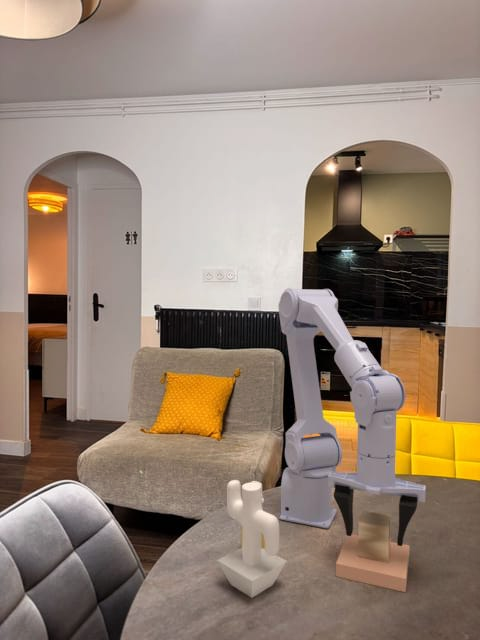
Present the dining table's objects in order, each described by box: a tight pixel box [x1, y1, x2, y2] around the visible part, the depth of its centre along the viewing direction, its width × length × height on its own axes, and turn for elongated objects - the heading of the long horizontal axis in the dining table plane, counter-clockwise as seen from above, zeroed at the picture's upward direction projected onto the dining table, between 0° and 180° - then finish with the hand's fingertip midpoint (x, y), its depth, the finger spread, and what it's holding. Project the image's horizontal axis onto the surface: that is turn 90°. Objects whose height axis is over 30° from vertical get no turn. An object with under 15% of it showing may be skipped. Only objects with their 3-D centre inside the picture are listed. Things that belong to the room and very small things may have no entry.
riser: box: [335, 533, 410, 593], centre depth 75 cm, size 10×10×2 cm
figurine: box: [216, 479, 287, 599], centre depth 69 cm, size 7×9×15 cm
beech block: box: [357, 510, 392, 563], centre depth 75 cm, size 4×4×6 cm
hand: (374, 537), depth 74 cm, fingers open, 7 cm apart
